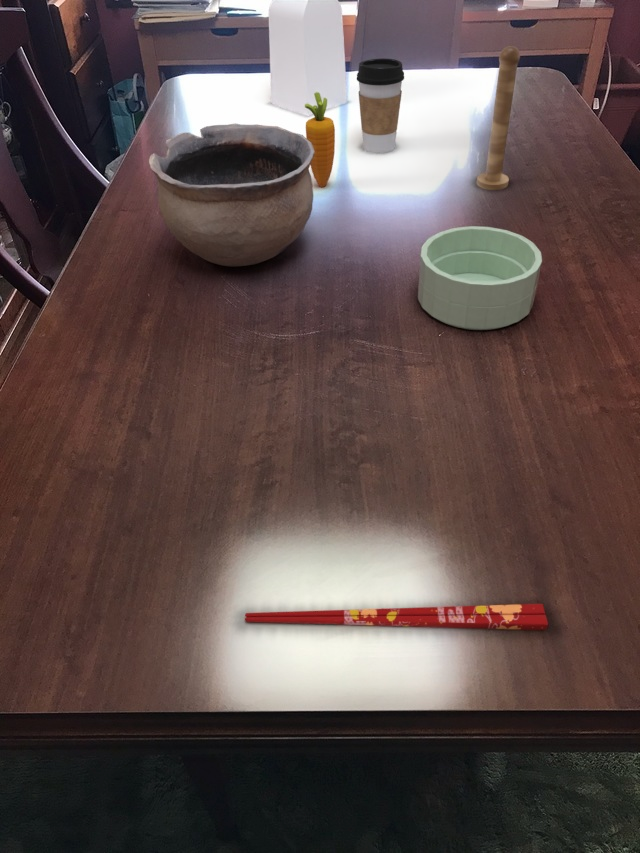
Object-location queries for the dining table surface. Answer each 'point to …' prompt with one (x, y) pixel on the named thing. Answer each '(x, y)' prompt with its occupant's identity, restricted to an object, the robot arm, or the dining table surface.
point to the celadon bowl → (478, 277)
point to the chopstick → (421, 617)
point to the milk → (306, 54)
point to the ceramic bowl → (235, 191)
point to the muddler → (500, 121)
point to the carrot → (321, 141)
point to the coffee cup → (379, 102)
